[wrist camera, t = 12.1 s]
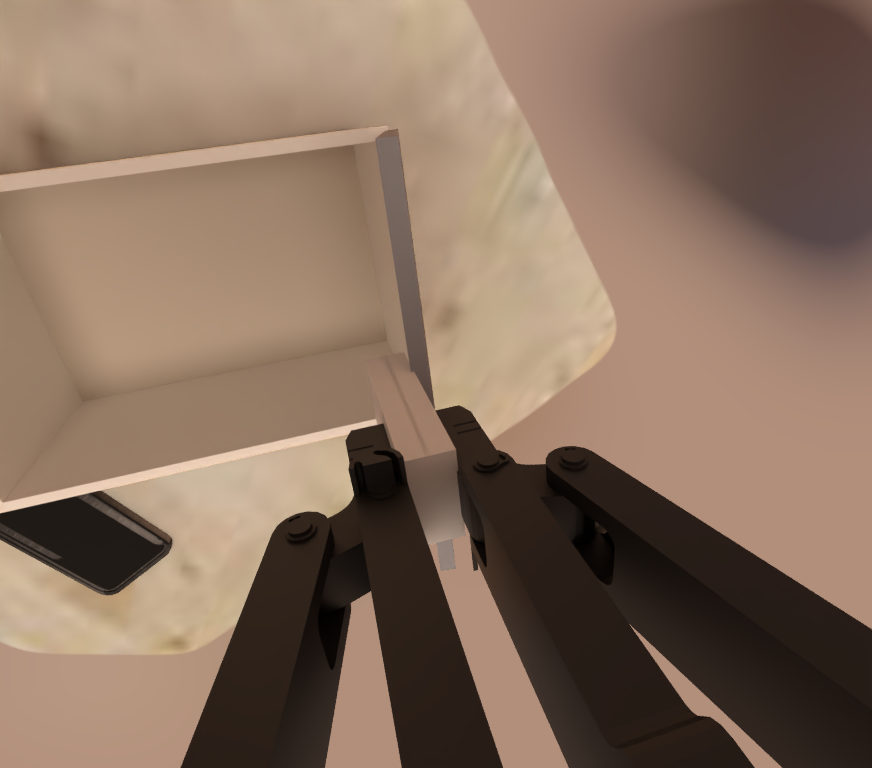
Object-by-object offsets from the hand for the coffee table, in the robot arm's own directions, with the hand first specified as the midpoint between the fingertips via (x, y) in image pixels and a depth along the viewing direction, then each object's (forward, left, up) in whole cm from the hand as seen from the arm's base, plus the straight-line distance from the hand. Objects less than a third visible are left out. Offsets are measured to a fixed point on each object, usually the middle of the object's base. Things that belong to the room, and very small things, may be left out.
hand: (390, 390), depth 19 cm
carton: (0, -9, -23) cm, 25 cm away
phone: (+17, -26, -23) cm, 39 cm away
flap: (0, +2, -4) cm, 4 cm away
